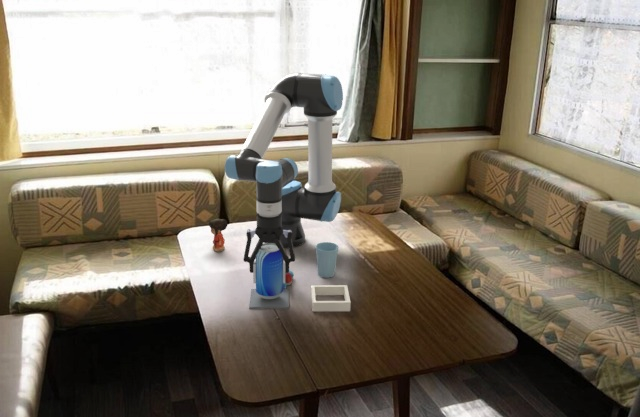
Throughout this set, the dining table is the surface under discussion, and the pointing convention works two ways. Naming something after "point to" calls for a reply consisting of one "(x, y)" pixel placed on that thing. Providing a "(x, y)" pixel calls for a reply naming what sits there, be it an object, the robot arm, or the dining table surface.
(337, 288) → the pocket
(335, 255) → the cup
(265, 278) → the beer can
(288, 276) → the toy car
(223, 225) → the figurine
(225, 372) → the dining table surface
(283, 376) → the dining table surface
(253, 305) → the mat
